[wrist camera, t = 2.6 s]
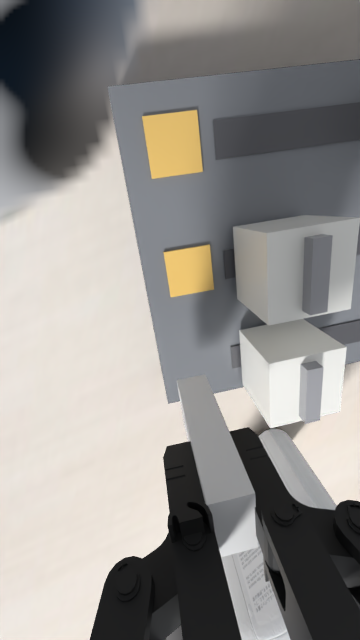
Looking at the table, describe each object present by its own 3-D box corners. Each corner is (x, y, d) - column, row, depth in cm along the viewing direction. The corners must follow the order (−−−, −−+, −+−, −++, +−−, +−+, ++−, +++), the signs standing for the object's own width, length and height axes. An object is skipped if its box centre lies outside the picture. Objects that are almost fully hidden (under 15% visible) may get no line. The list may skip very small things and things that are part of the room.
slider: (242, 384, 19) (275, 436, 14) (239, 330, 17) (274, 370, 13) (299, 372, 19) (347, 419, 15) (301, 317, 18) (355, 352, 13)
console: (163, 378, 21) (168, 405, 19) (111, 108, 15) (107, 84, 12) (423, 323, 24) (464, 339, 21) (478, 66, 17) (550, 37, 14)
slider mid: (237, 298, 16) (274, 331, 12) (232, 226, 15) (273, 234, 11) (302, 286, 17) (360, 313, 13) (304, 215, 15) (371, 217, 11)
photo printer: (228, 509, 28) (294, 710, 17) (195, 496, 27) (243, 707, 16) (298, 437, 26) (426, 612, 15) (266, 419, 25) (381, 598, 13)
